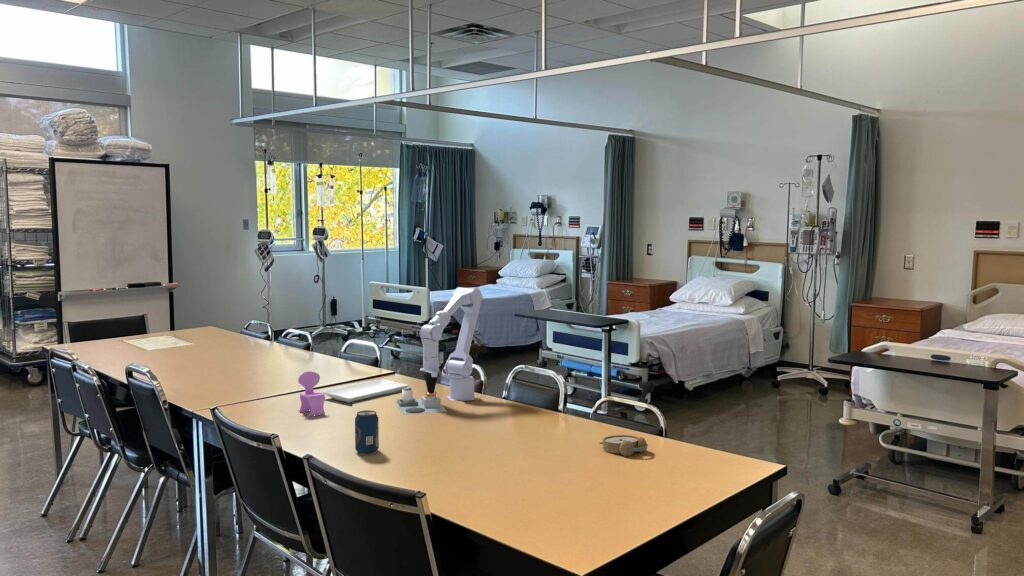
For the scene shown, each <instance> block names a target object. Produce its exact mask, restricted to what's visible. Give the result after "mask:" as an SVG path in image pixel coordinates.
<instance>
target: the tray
mask: <svg viewBox="0 0 1024 576" xmlns="http://www.w3.org/2000/svg"><path fill="white" fill-rule="evenodd" d="M408 387H409V384H406V383H402V382H396V381H392V380H387V379H383V378H382V379H375V380H370V381H365V382H361V383H356V384H355V383H354V384H352V385H346V386H340V387H336V388H331V389H327V390H324V391H322V393H323V394H325V395H326V396H327V397H328V398H332V399H333V400H335V401H340V402H343V403H347V404H352V403H353V402H357V401H361V400H365V399H370V398H374V397H379V396H380V397H381V396H384V395H389V394H396V393H399V392H402V389H403V388H408Z"/></svg>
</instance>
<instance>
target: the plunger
mask: <svg viewBox="0 0 1024 576" xmlns="http://www.w3.org/2000/svg"><path fill="white" fill-rule="evenodd" d="M437 393H438V392H436V391H434V393H428V391H425V393H424V396H426V399H436V396H438V395H437Z"/></svg>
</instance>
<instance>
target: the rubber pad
mask: <svg viewBox="0 0 1024 576" xmlns="http://www.w3.org/2000/svg"><path fill="white" fill-rule="evenodd" d="M424 411H425V409H423V408H408V409H406V412H408V413H418V414H422V413H421V412H424Z"/></svg>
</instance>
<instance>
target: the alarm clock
mask: <svg viewBox="0 0 1024 576" xmlns="http://www.w3.org/2000/svg"><path fill="white" fill-rule="evenodd" d="M599 445H602V450H603V452H606V453H609V454H610V453H611V454H621V455H622V456H624V457H631V456H632V455H634V453H636V452H638V453H639V454H642V453H644V452H645V451H646V450H648V446H649V444H648V443H647V441H646V439H645V438H644V437H642V436H640V437H638V436H636V435H629V434H627V435H626V434H616V435H615V434H614V435H608V436H604V437H603V438H602V442H601V441H600V442H599Z"/></svg>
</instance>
